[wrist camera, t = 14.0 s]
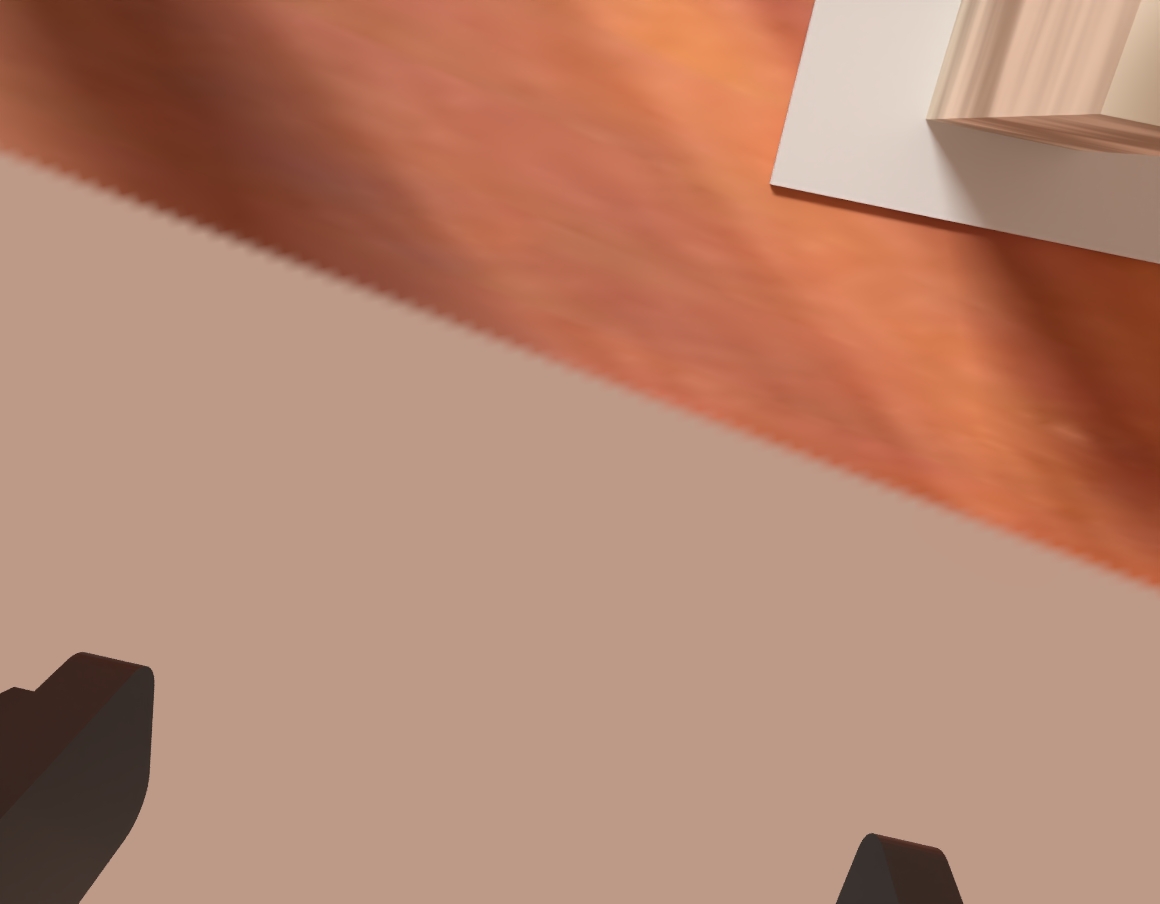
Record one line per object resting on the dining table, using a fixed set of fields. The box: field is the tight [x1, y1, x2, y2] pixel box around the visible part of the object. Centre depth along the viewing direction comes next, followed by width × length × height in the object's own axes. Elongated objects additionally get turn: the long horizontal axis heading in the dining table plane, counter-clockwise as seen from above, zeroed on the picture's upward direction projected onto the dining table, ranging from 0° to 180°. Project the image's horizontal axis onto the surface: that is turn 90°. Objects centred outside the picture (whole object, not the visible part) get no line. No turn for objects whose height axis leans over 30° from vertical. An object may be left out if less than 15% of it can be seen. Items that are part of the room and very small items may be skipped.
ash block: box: [926, 0, 1160, 156], centre depth 24 cm, size 5×5×15 cm
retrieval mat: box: [770, 0, 1160, 264], centre depth 31 cm, size 14×11×1 cm
